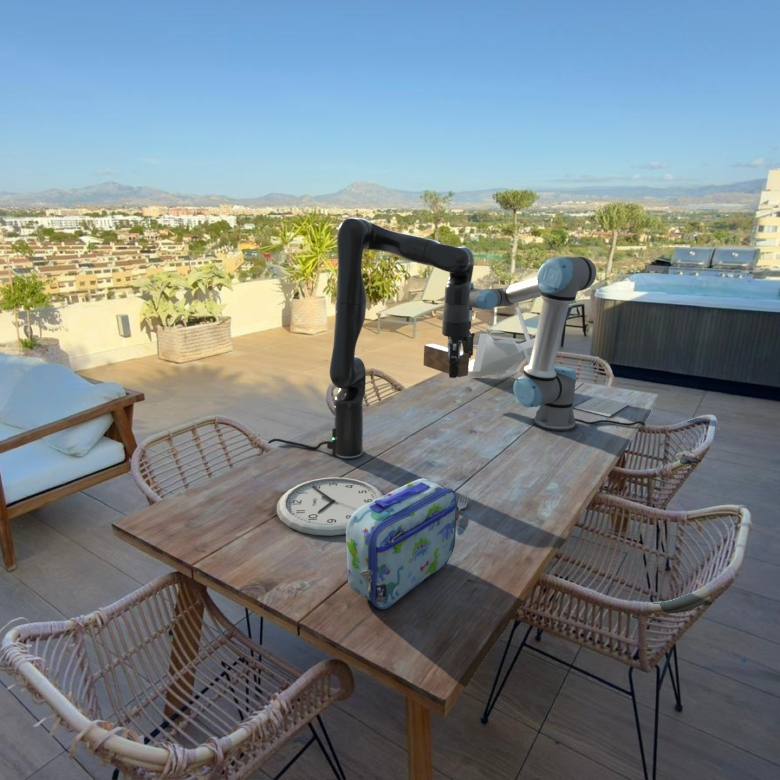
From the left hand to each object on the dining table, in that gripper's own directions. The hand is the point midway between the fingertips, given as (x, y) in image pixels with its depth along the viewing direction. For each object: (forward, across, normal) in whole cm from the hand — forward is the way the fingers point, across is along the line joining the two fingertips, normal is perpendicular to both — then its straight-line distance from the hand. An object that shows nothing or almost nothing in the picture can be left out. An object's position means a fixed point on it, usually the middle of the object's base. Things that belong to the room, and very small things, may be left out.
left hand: (452, 373), depth 154 cm
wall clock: (+32, +26, -31) cm, 51 cm away
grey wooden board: (+32, -73, +65) cm, 103 cm away
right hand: (+19, -70, +3) cm, 72 cm away
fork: (+32, +26, +3) cm, 41 cm away
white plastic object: (+32, -101, +26) cm, 109 cm away
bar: (+20, -76, -3) cm, 78 cm away
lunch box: (+32, +55, -9) cm, 64 cm away
